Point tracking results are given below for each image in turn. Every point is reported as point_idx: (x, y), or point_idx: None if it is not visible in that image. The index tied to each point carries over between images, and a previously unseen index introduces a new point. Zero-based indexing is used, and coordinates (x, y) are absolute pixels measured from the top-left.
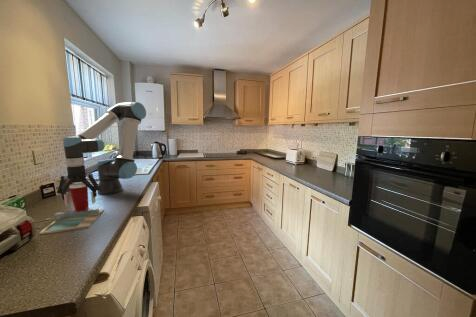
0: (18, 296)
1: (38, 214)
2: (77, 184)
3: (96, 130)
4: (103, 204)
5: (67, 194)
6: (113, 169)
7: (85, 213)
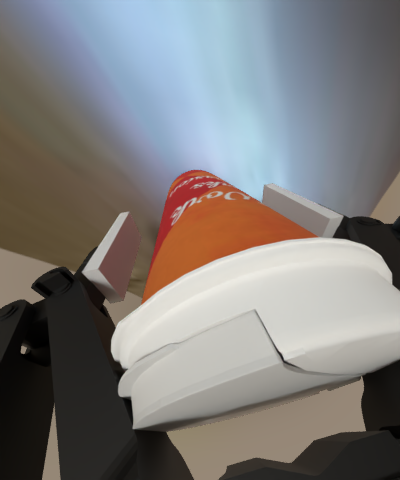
0: None
1: (19, 241)
2: (275, 400)
3: None
4: (283, 129)
5: (110, 269)
6: None
7: None
